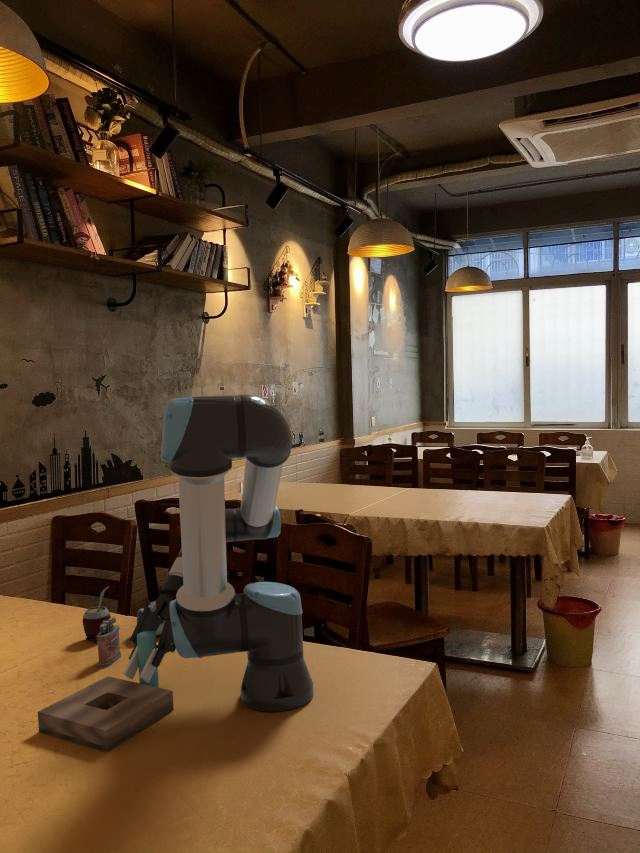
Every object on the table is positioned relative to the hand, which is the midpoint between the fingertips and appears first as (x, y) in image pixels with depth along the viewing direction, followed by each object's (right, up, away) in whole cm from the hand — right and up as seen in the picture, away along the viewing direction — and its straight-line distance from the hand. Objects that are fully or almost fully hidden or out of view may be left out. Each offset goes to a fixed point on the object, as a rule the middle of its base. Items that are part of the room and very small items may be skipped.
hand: (136, 678), depth 148 cm
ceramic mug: (-6, -2, +38) cm, 39 cm away
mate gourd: (-19, -3, +36) cm, 41 cm away
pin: (+2, -3, +4) cm, 5 cm away
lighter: (-12, -3, +20) cm, 24 cm away
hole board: (-3, -4, -11) cm, 12 cm away
